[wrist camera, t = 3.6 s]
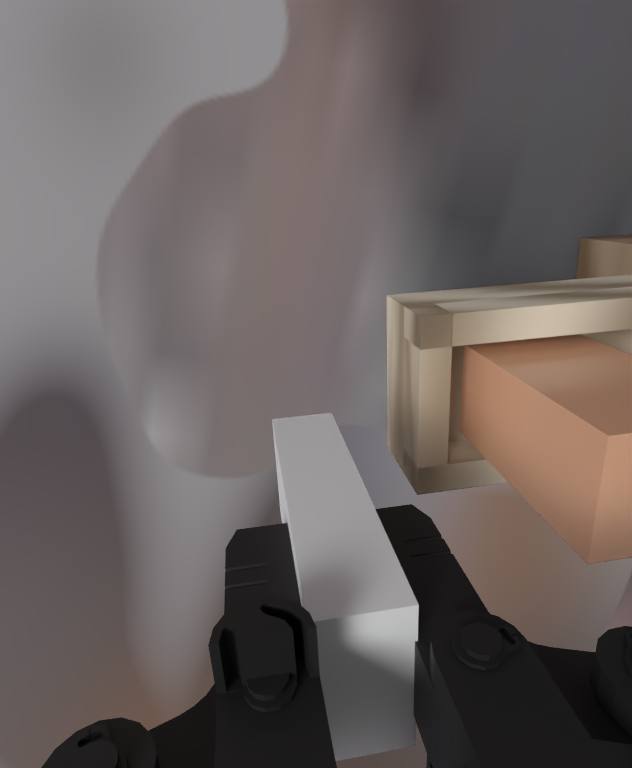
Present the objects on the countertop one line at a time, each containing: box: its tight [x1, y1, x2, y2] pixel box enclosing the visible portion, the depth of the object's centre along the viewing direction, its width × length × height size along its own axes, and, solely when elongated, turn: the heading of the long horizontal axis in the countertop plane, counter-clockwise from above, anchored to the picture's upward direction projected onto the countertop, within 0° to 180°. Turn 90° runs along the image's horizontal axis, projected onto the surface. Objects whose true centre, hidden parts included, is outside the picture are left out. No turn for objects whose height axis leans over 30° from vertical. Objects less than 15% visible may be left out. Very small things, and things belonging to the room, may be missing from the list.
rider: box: [460, 334, 632, 564], centre depth 14 cm, size 4×3×8 cm
